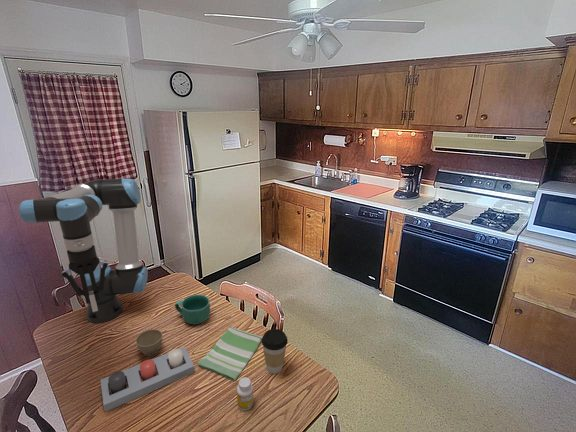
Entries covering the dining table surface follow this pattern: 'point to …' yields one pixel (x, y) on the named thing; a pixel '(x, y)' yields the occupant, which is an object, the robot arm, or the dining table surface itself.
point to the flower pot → (149, 341)
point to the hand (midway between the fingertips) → (95, 309)
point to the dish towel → (231, 353)
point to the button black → (117, 382)
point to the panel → (148, 385)
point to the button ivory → (175, 358)
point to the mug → (194, 309)
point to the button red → (147, 369)
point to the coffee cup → (274, 349)
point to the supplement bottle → (245, 394)
